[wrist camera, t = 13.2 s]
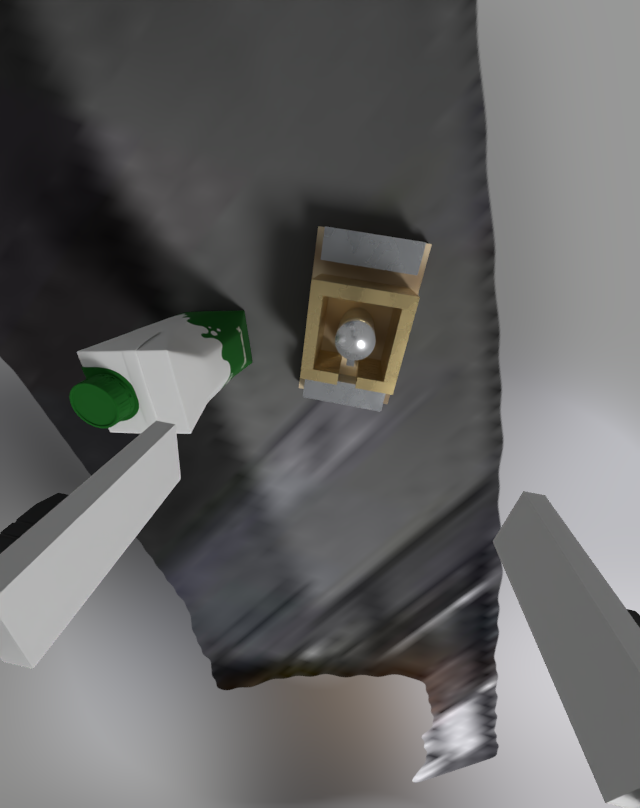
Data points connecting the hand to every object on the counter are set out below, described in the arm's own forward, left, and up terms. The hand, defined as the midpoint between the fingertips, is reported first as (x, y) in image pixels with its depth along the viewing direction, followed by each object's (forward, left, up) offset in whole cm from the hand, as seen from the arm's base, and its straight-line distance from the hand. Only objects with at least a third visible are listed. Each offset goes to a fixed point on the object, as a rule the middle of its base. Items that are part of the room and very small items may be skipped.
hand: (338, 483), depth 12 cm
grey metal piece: (0, 0, -28) cm, 28 cm away
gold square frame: (0, 0, -28) cm, 28 cm away
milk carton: (+5, -17, -30) cm, 35 cm away
